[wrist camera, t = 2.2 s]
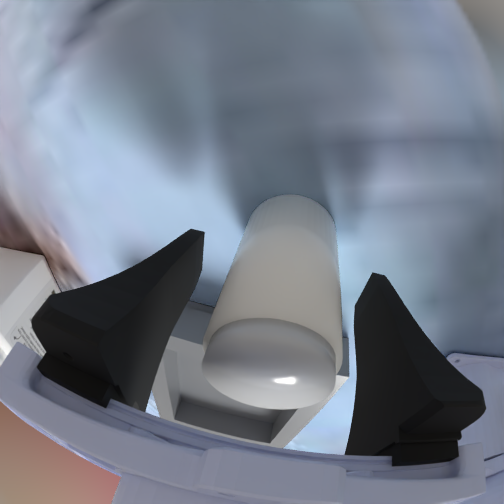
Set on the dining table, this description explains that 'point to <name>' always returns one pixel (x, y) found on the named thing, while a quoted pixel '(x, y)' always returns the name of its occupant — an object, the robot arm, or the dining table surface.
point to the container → (22, 298)
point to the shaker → (279, 310)
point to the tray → (214, 402)
